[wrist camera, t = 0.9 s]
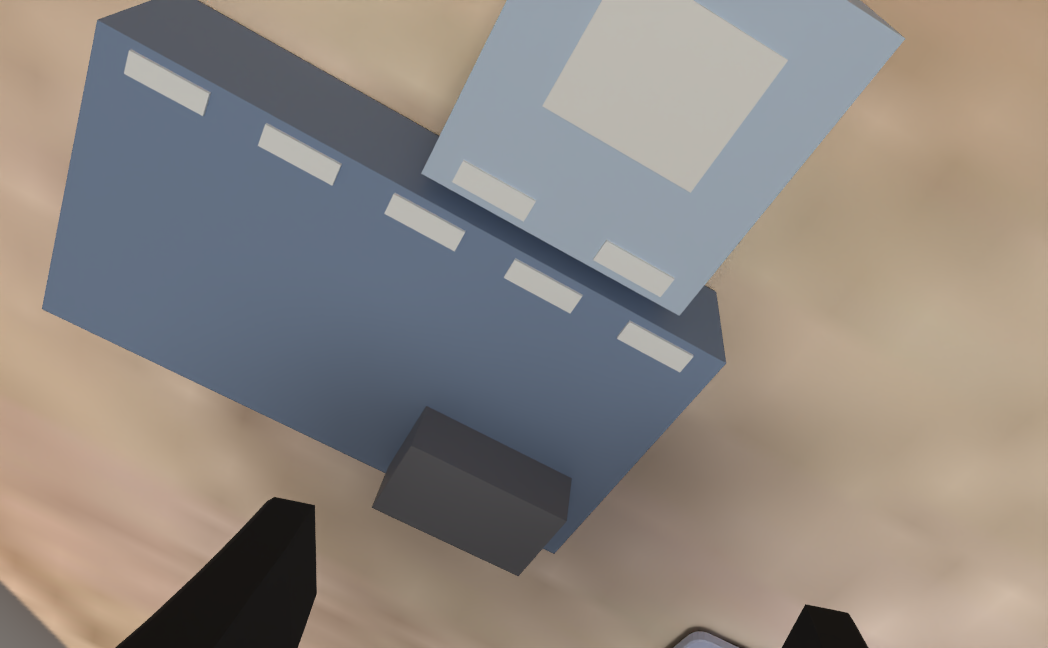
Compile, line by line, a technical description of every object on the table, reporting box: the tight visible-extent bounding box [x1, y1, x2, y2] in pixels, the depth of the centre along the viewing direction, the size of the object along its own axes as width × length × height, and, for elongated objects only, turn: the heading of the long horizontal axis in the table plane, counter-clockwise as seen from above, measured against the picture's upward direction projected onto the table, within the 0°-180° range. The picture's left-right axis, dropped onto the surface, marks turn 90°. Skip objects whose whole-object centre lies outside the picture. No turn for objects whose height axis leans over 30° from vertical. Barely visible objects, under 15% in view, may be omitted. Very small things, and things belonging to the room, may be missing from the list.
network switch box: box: [42, 0, 726, 576], centre depth 18 cm, size 14×8×4 cm, turn 62°
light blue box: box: [421, 0, 905, 316], centre depth 15 cm, size 6×6×3 cm
